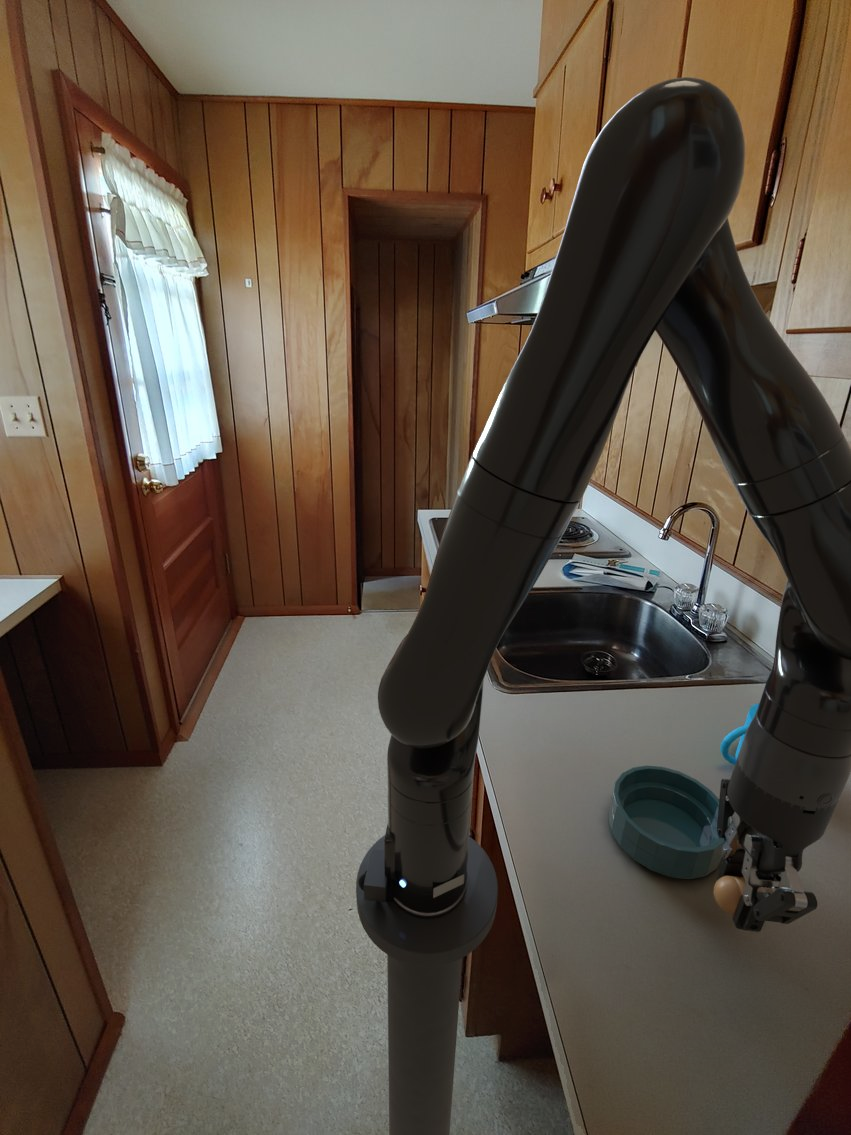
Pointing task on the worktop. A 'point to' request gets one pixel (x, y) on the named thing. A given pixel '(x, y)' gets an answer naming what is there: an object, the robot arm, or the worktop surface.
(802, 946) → the worktop surface
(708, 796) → the bowl
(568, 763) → the worktop surface
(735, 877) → the bread
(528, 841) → the worktop surface
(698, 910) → the worktop surface
